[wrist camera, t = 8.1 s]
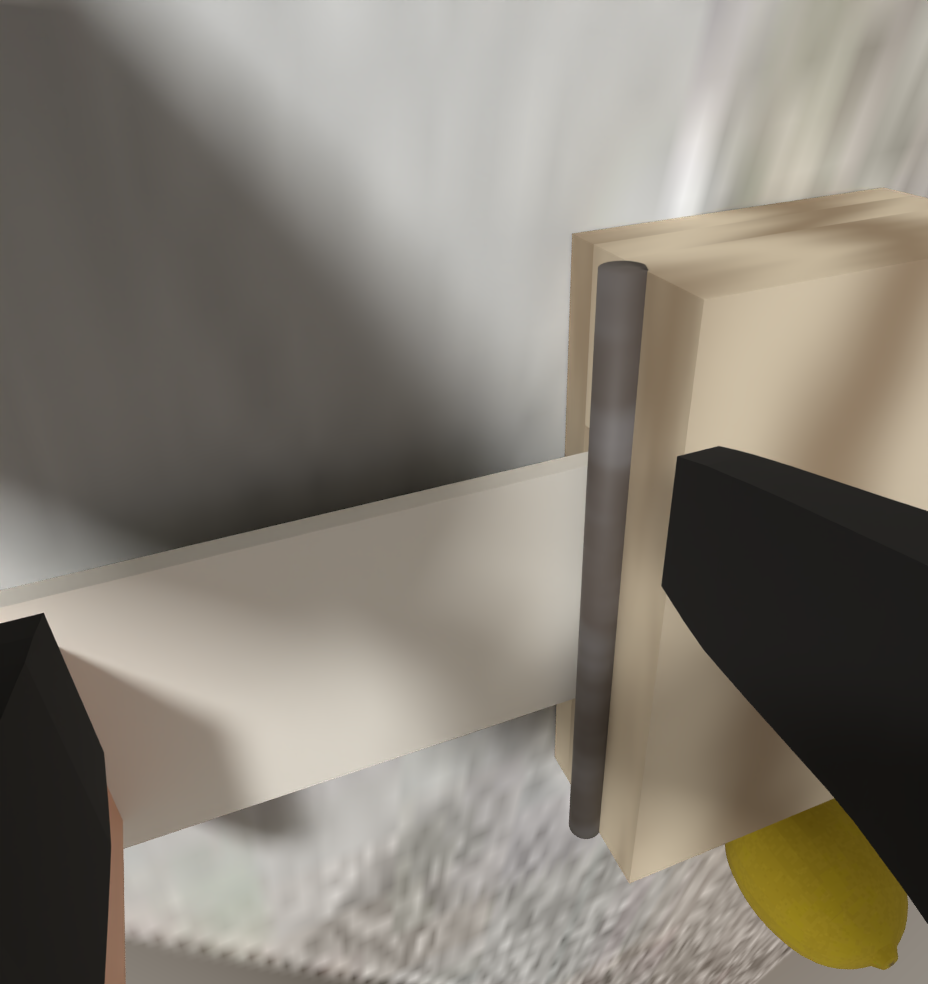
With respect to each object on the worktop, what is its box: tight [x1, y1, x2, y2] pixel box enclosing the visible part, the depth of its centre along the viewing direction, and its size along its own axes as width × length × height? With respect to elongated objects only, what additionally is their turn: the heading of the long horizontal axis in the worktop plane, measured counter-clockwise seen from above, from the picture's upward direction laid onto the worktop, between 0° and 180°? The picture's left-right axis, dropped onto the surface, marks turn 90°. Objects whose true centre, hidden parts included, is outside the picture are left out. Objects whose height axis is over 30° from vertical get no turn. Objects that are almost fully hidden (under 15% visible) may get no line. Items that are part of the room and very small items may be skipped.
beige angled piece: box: [0, 452, 588, 984], centre depth 18 cm, size 15×8×6 cm, turn 92°
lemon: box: [725, 798, 908, 970], centre depth 30 cm, size 6×6×8 cm
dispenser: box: [555, 188, 928, 883], centre depth 22 cm, size 10×18×5 cm, turn 2°
